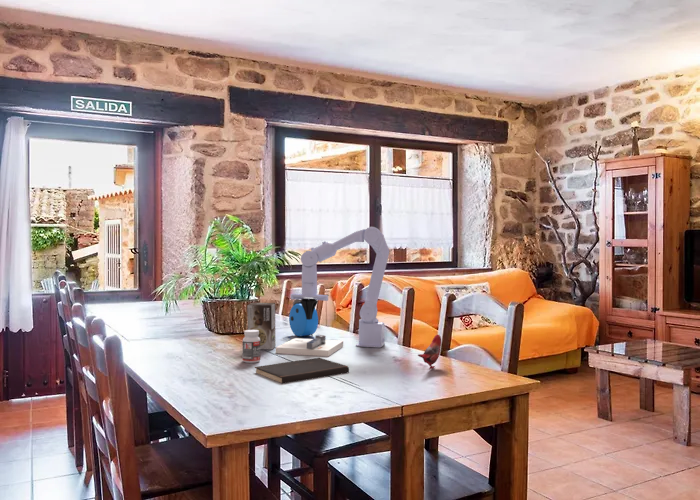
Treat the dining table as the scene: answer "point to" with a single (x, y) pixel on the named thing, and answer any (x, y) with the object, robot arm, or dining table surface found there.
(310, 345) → the latch handle
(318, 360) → the hardcover book
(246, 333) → the pill bottle
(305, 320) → the alarm clock
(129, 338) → the dining table surface
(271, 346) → the coffee box
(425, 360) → the decorative bird figurine
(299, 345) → the cover plate
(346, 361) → the dining table surface
